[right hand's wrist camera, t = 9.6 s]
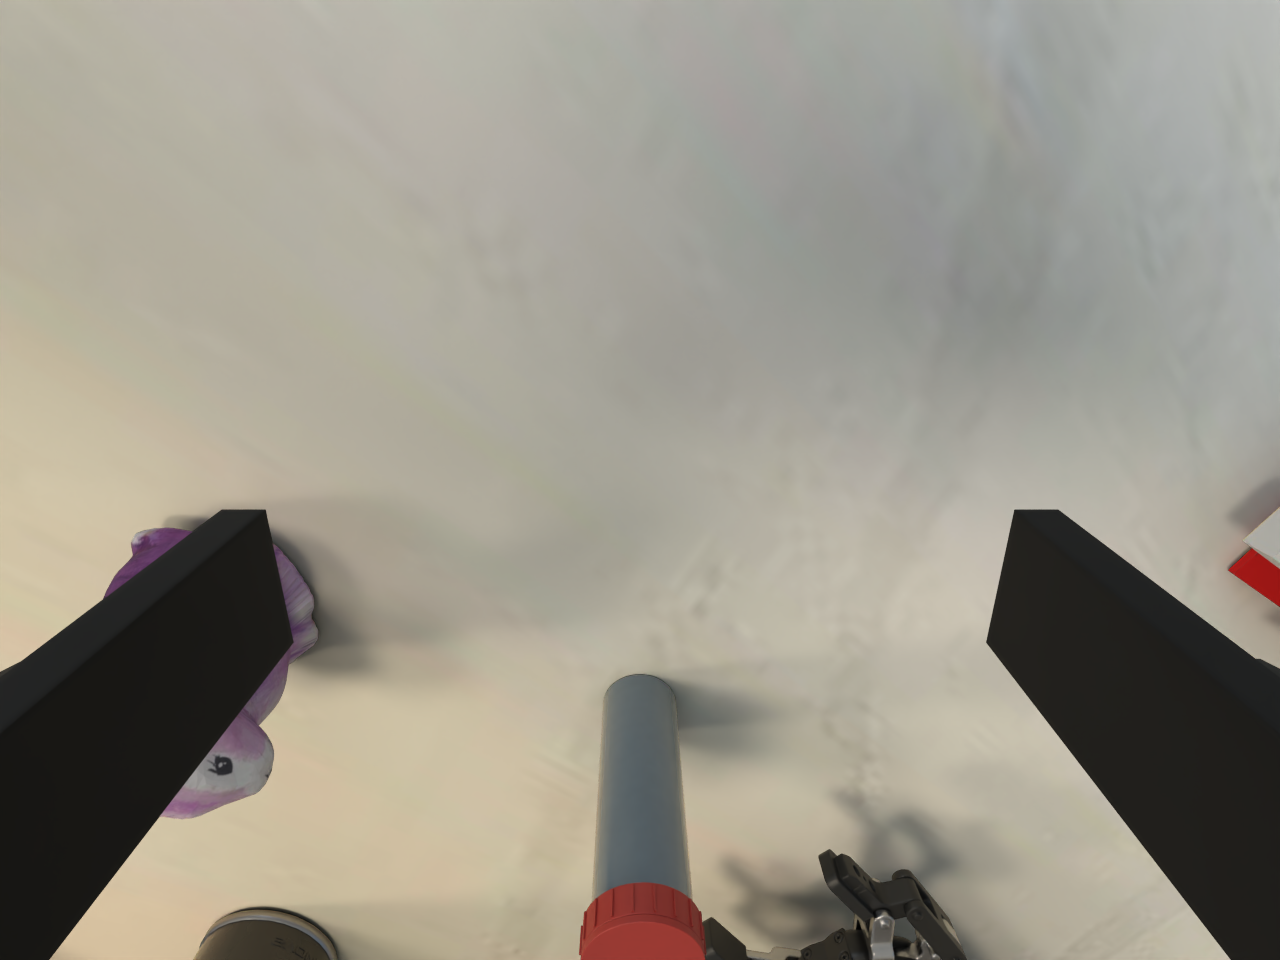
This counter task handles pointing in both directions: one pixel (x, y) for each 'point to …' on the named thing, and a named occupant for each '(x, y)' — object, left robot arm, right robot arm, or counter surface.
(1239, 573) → the toy
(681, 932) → the lid
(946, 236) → the counter surface
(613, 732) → the jar
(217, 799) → the figurine
